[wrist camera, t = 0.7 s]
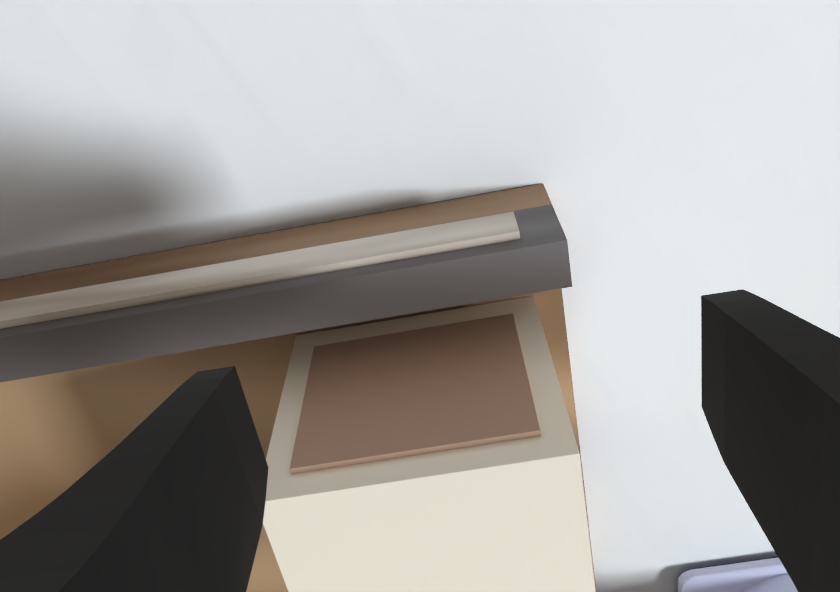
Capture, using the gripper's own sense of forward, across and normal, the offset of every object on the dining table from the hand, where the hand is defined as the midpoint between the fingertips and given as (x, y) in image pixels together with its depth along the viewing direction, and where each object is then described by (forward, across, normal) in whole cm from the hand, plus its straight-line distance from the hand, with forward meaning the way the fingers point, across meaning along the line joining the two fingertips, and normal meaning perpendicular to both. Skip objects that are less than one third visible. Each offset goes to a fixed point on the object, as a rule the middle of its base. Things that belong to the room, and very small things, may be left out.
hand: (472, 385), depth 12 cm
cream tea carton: (+8, +1, +5) cm, 10 cm away
